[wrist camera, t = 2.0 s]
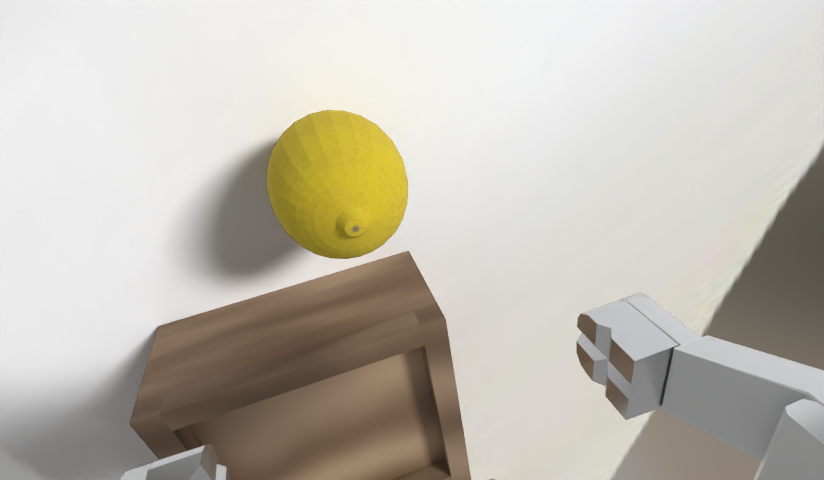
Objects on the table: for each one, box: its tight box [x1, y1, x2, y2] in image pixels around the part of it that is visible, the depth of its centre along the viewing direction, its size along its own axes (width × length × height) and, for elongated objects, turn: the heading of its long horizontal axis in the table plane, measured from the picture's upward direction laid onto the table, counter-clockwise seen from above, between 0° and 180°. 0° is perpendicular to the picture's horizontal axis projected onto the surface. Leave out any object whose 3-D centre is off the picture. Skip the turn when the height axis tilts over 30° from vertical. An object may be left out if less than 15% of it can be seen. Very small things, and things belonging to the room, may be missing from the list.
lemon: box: [267, 110, 408, 259], centre depth 18 cm, size 6×6×8 cm
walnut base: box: [130, 251, 471, 480], centre depth 26 cm, size 14×14×6 cm
